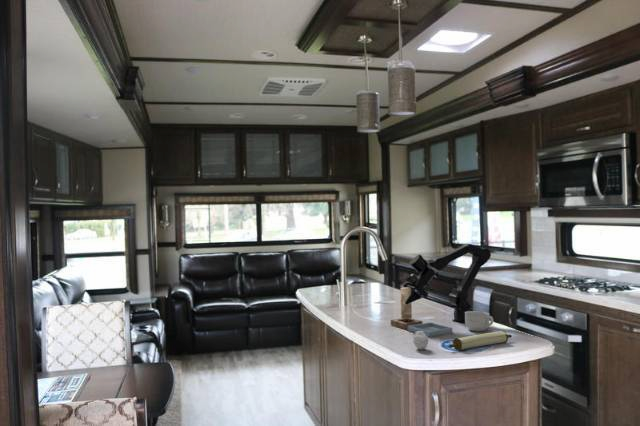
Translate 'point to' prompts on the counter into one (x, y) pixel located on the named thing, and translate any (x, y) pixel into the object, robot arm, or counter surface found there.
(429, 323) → the tray
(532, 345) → the counter surface
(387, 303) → the counter surface
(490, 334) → the rolling pin
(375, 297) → the counter surface
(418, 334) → the grey round lump
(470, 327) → the teacup
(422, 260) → the robot arm
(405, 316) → the dowel
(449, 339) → the counter surface
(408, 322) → the socket block
